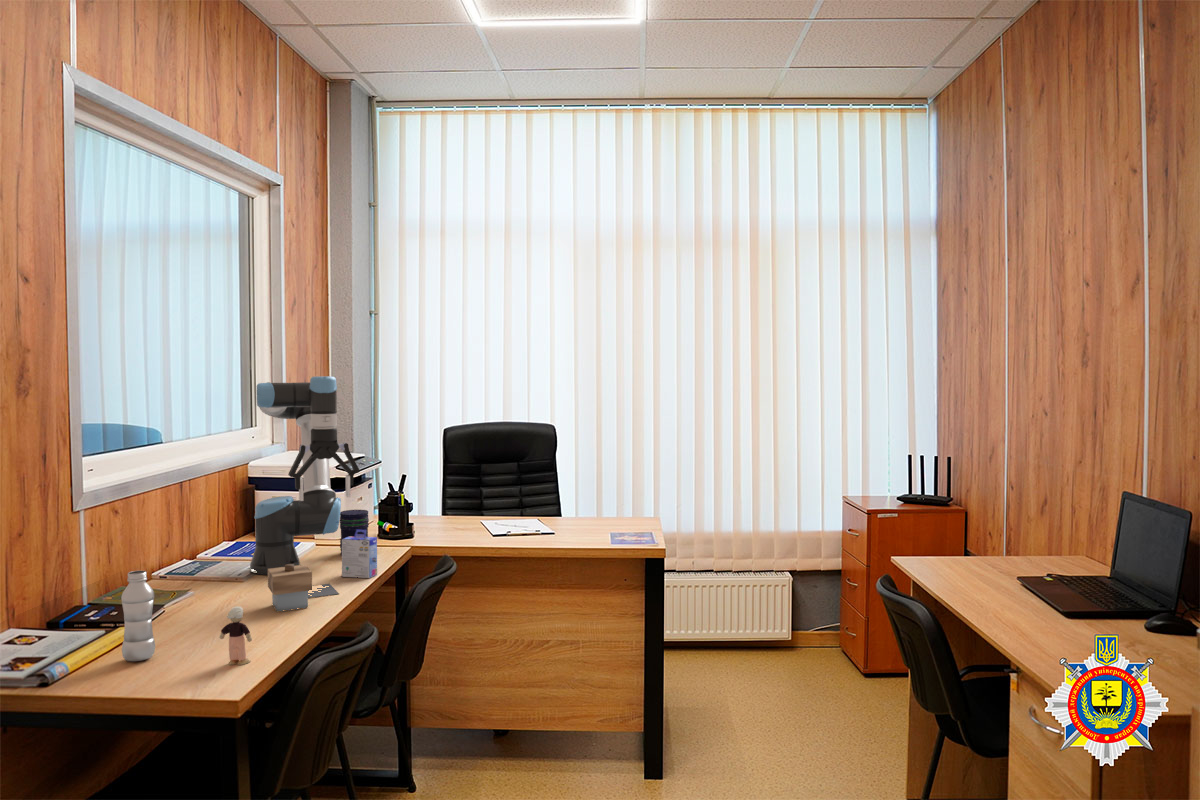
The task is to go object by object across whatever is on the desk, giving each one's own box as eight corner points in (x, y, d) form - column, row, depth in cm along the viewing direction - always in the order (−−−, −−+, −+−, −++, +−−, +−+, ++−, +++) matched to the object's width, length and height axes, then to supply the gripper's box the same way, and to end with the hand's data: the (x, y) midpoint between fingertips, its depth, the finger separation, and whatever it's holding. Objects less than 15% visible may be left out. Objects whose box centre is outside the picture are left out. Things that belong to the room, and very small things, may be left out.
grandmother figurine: (257, 659, 189) (256, 604, 188) (250, 665, 185) (249, 609, 184) (222, 659, 188) (221, 604, 188) (215, 665, 184) (214, 609, 184)
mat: (284, 589, 247) (284, 589, 247) (329, 584, 253) (329, 583, 253) (292, 600, 236) (292, 599, 236) (339, 594, 242) (339, 593, 242)
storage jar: (355, 558, 287) (355, 515, 287) (333, 555, 292) (333, 513, 291) (375, 552, 296) (374, 510, 296) (353, 549, 301) (353, 508, 300)
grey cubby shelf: (272, 604, 232) (272, 586, 231) (302, 600, 236) (302, 583, 235) (277, 612, 225) (276, 593, 224) (307, 607, 229) (307, 589, 228)
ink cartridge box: (378, 574, 265) (377, 529, 264) (370, 578, 260) (369, 532, 259) (349, 573, 267) (349, 528, 266) (341, 577, 262) (340, 531, 261)
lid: (267, 586, 232) (267, 563, 232) (305, 581, 237) (304, 559, 237) (273, 595, 223) (273, 571, 223) (312, 590, 228) (311, 566, 228)
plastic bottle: (130, 655, 191) (128, 569, 190) (160, 654, 192) (158, 568, 191) (116, 665, 185) (114, 576, 184) (148, 664, 185) (146, 575, 185)
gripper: (281, 430, 239) (283, 503, 240) (369, 427, 251) (369, 496, 252) (277, 428, 246) (278, 500, 246) (362, 425, 258) (363, 493, 259)
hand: (324, 498), depth 249 cm, fingers open, 13 cm apart
